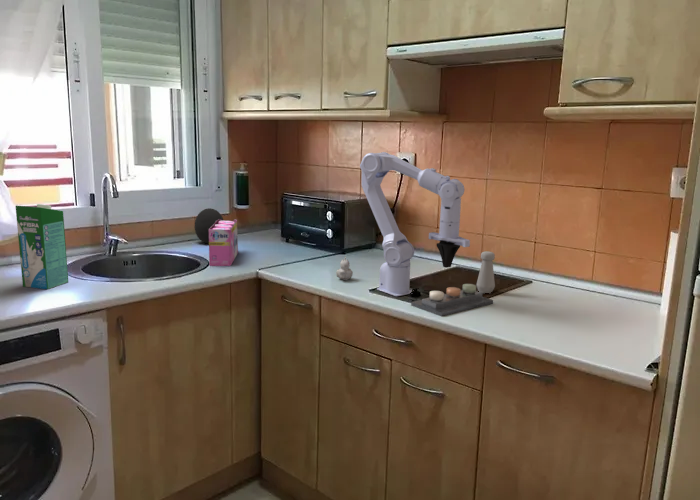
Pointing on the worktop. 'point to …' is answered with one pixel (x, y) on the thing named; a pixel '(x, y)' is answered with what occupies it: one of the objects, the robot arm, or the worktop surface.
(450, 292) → the terracotta knob
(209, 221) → the decorative egg
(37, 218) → the milk carton
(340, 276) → the beige lumpy figurine
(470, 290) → the sage knob
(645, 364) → the worktop surface
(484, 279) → the salt shaker
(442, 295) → the cream knob
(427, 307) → the switch panel
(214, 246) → the gum box
